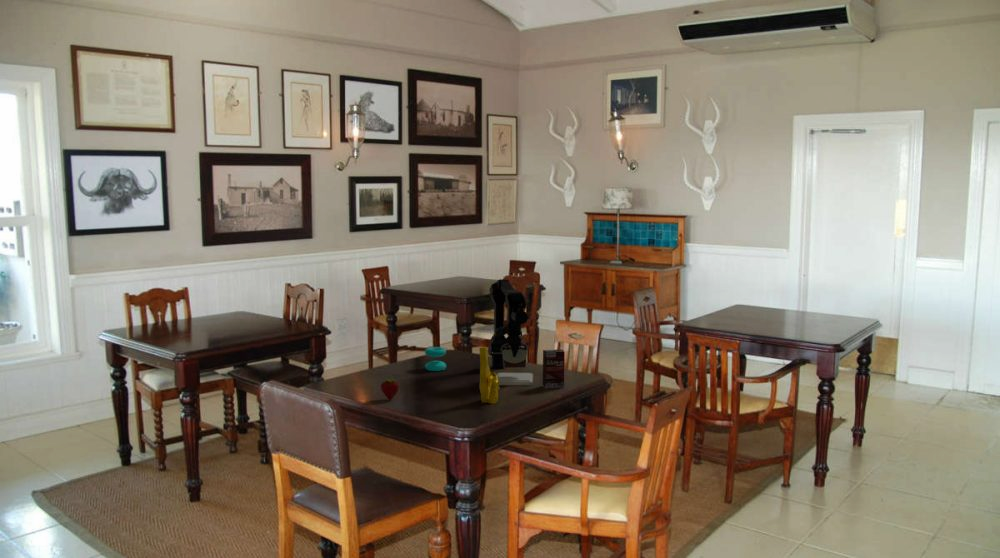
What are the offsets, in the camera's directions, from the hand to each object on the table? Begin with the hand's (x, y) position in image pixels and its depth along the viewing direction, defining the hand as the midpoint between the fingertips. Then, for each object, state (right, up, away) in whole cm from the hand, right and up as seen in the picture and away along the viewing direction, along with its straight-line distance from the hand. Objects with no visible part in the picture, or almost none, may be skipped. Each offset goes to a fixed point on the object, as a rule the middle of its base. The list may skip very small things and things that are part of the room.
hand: (514, 355), depth 348 cm
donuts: (-37, -9, +24) cm, 45 cm away
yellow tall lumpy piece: (-11, -16, -33) cm, 38 cm away
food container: (0, -5, +2) cm, 5 cm away
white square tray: (0, -11, +1) cm, 11 cm away
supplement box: (+17, -13, -10) cm, 23 cm away
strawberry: (-51, -15, -30) cm, 61 cm away
